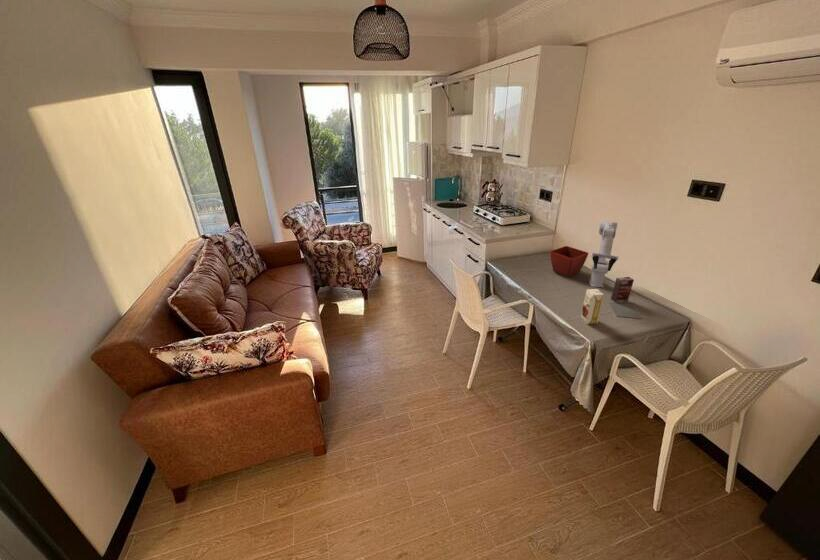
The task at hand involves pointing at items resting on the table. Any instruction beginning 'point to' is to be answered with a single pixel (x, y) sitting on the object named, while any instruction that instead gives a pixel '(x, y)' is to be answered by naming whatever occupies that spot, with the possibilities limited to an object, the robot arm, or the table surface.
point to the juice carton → (592, 306)
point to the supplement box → (622, 290)
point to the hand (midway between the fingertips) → (602, 269)
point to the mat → (625, 310)
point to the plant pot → (567, 260)
